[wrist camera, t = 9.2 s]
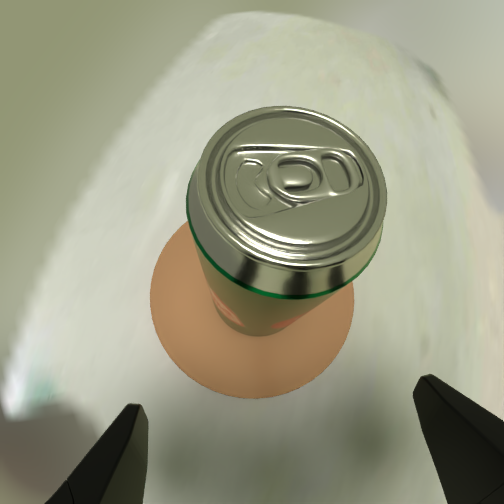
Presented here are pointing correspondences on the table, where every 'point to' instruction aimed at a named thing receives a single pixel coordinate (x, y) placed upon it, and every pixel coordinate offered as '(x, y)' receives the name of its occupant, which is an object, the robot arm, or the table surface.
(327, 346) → the terracotta plate
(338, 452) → the table surface
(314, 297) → the soda can
